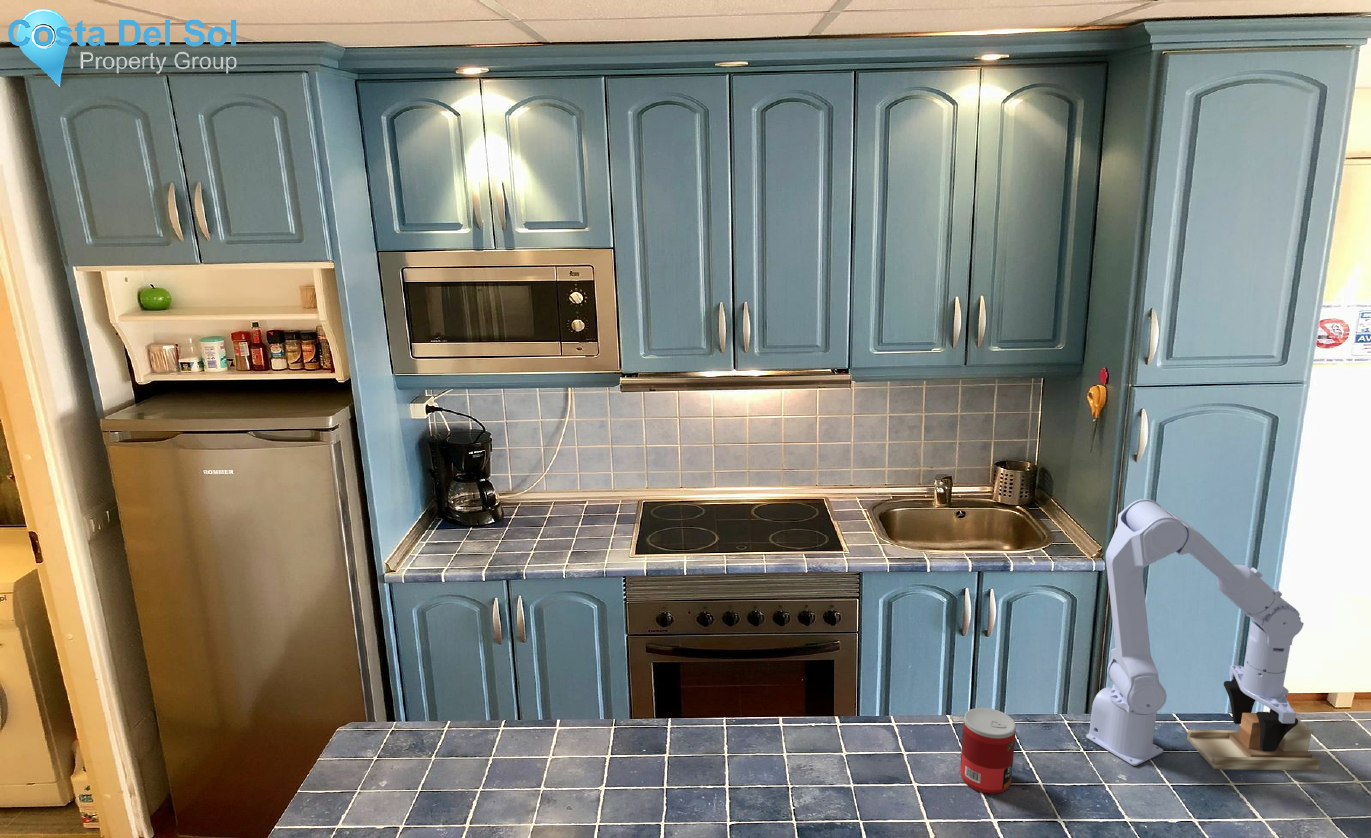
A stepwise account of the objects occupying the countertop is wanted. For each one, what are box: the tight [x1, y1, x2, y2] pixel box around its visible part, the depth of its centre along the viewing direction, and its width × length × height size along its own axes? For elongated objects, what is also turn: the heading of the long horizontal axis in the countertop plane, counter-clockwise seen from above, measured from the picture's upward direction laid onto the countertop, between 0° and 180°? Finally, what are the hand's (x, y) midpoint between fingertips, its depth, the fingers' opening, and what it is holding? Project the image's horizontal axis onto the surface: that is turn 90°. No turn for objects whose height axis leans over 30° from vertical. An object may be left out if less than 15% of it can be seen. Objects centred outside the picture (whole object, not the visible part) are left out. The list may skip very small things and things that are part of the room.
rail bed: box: [1186, 729, 1321, 771], centre depth 145 cm, size 17×8×2 cm, turn 88°
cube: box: [1279, 716, 1313, 751], centre depth 144 cm, size 4×4×4 cm
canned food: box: [959, 707, 1017, 795], centre depth 138 cm, size 8×8×11 cm
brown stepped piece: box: [1229, 712, 1313, 758], centre depth 144 cm, size 10×6×6 cm, turn 88°
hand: (1253, 736), depth 144 cm, fingers open, 7 cm apart
